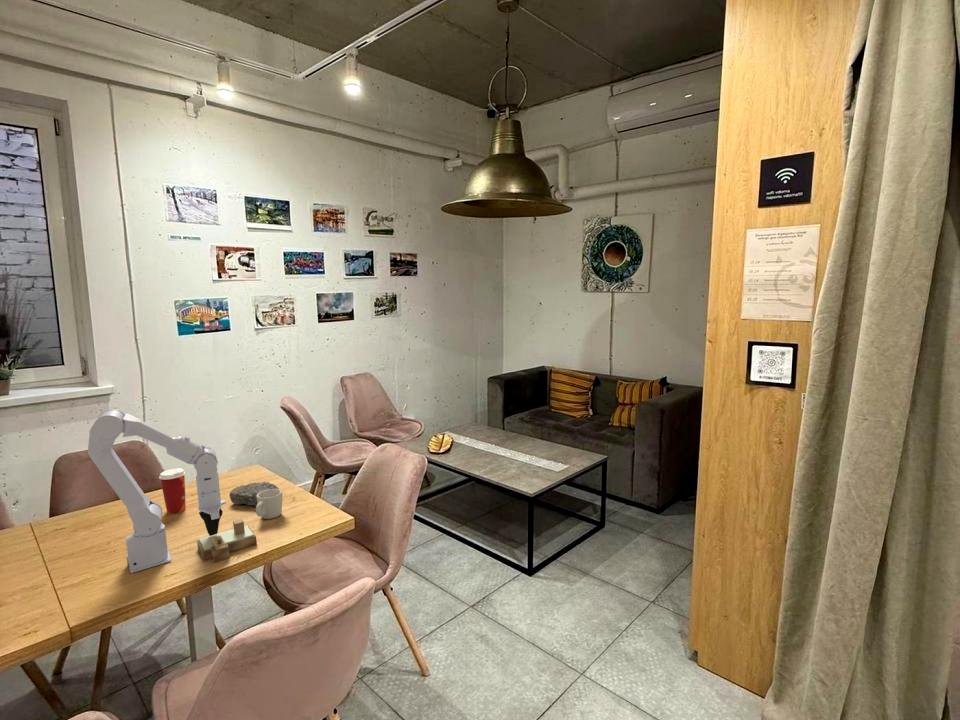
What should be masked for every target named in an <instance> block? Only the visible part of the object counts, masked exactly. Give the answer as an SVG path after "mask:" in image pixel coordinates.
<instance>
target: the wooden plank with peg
mask: <svg viewBox="0 0 960 720" xmlns="http://www.w3.org/2000/svg"><path fill="white" fill-rule="evenodd" d="M211 541H212V544H213V546H214V548H215V549H216V550H218V549H222V548H225V542H224V541H223V539H222V537H221V536H217V537H214V538H211Z"/></svg>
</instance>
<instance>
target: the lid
mask: <svg viewBox="0 0 960 720" xmlns="http://www.w3.org/2000/svg"><path fill="white" fill-rule="evenodd" d="M232 525H233V529H228V530H224V531H221V532H218V533H217V534H215V535H212V536H209V535H207V536H204V537H200V538H198V540H199V541H200V543H201V545H202V547H203V549H204V551H206V550H209V549H211V547H213V544H212V541H211V538H214V537H217V536H221V537H222V539H223V541H224V542H225V543H227V544H229V543H232V542H236V541H239V540H242V539H246V538H249V537H252V536H254V534H255V533H254V532H253V533H254V534H253V533H252V532H251V530H252V529H251V528H250V529H251V530H250V529H249V527H250V526H249V525H247V524H246V525H245V521H244V520H243V518H241V519H237V520H233V521H232ZM248 526H249V527H248Z"/></svg>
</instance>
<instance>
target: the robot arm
mask: <svg viewBox="0 0 960 720" xmlns="http://www.w3.org/2000/svg"><path fill="white" fill-rule="evenodd" d="M88 432H89V438H88V445H87V446H88V447H87V454H88V456H89V458H90V460H92V462H93V463H94V465H95V466H96V467H97V469H98V470H99V472H100V473H101V474H102V476H103V477H104V478H105V480H106V481H107V483H108V484H109V485H110V487H111V489H112V490H113V491H114V492H115V493H116V495H117V496H118V498H119V499H120V500H121V502H122V504H123V505H124V506H125V508H126V509H127V513H128V516H129V518H130V519H131V521H132V524H133V525H132V527H133V530H134V531H133V534H131V535H127V536H125V545H126V553H127V554H126V555H127V556H126V564H128V566H129V567H128V568H129V572H130V574H133V573H136V572H139V571H143V570H145V569H146V570H147V569H149V568H153V567H156V566H159V565H162V564H163V565H164V564H166V563H169V562H172V557H171V555H170V554H171V553H170V551H169V549H168V544H167V533H166V525H165V524H164V523H163V522H162V515H163V508H162V506H161V505H160V504H159V503H157V502H155V501H154V500H152V499H151V498H150V496H149V495H146V494H145V493H144V491H143V490H142V488H141V487H140V486H139V484H138V482H137V481H136V480H135V478H134V477H133V476H132V474H131V472H130V471H129V470H128V468H127V467H126V466H125V464H124V463H123V462H122V460H121V459H120V457H119V455H117V454H116V451H115V450H114V449H113V447H114V444H115V442H116V440H117V438H118V437H120V435H121V434H122V433H123V435H122V437H123V438H126V437H134V436H138V437H140V438H142V439H145V440H147V441H149V442H150V443H151V442H152V443H154V444H156V445H159V446H161V447H163V448H165V449H166V454H167V455H169V456H171V457H173V458H175V459H177V460H179V461H182V462H184V463H186V464H188V465H193V467H194V469H195V471H196V476H195V480H196V481H195V483H196V484H195V485H196V492H197V502H198V506H197V510H198V511H199V512H198V514H199V516H200V518H201V519H202V520H203V522H204V525H205V528H206V531H207V534H208V536H212V535H215V534H217V533H219V525H220V521H221V517H222V515H223V513H224V512H223V510H222V506H223V505H224V506H225V505H226V500H225V499H223V500H222V499H221V491H220V490H221V489H220V479H219V477H220V476H219V473H218V463H219V461H218V457H217V454H216V451H214V450H213V449H212V448H211V447H209V446H206V445H204V444H202V445H200V444H198V443H197V442H194V441H192V440H191V437H189V436H187V435H185V436H182V435H178V436H171V435H170V434H167V433H166V432H165V431H164V432H163V430H160V429H158V428H156V427H155V426H153V425H151V424H149V423H147V422H145V421H144V420H142V419H140V418H138V417H136V416H134V415H132V414H129V413H127V412H126V413H124V412H123V411H121V410H120V409H117V408H111V409H110V408H109V409H106V410H104V411H102V412H101V413H100V414H99V416H98V417H97V419H96V420H95V421H94V423H93V425H92V426H91V428H90V429H89V431H88Z"/></svg>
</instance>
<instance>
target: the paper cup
mask: <svg viewBox="0 0 960 720" xmlns="http://www.w3.org/2000/svg"><path fill="white" fill-rule="evenodd" d="M159 474H160V475H159V476H158V478H159V480H160V483H161V488H162V495H163V500H164V505H165V509H166V513H167V514H169V515H173V514H179V513H182V512H184V511H185V510H186V508H187V507H186V502H187V501H186V479H185V475H186V472H185V470H184V469H183V468H179V467H178V468H170V469H167V470H163V471H162V472H161V473H159Z"/></svg>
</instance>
